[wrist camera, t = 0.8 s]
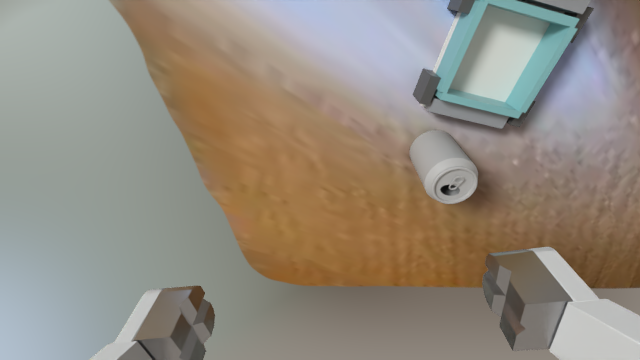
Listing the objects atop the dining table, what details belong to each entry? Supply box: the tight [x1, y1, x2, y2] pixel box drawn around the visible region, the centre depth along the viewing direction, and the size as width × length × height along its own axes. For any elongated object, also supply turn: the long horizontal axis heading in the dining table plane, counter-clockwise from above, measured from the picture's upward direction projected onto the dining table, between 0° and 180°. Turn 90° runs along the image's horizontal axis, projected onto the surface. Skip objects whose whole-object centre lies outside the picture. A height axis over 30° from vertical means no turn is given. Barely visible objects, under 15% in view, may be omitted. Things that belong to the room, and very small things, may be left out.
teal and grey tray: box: [413, 0, 594, 129], centre depth 42 cm, size 18×16×6 cm
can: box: [410, 130, 478, 204], centre depth 48 cm, size 8×8×12 cm
